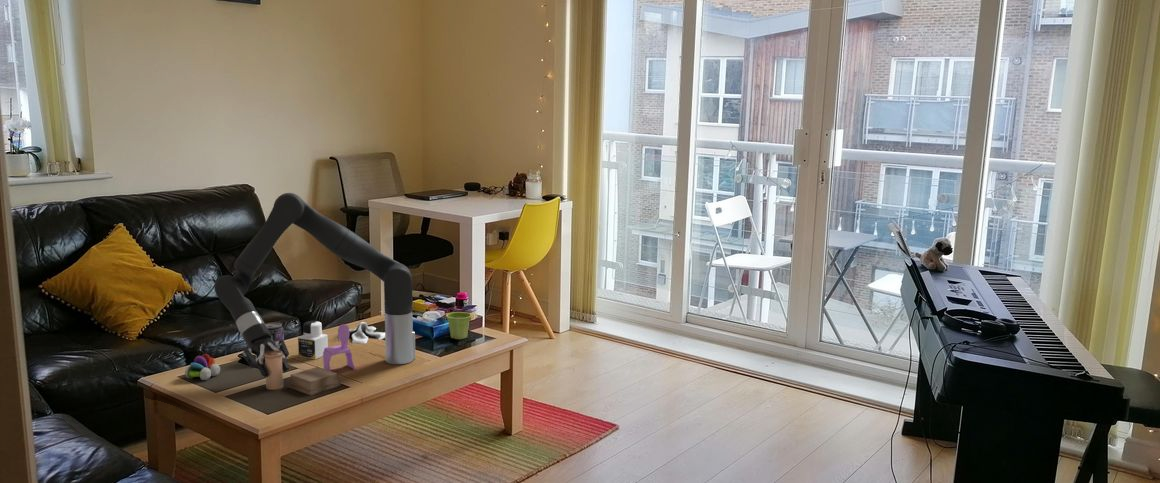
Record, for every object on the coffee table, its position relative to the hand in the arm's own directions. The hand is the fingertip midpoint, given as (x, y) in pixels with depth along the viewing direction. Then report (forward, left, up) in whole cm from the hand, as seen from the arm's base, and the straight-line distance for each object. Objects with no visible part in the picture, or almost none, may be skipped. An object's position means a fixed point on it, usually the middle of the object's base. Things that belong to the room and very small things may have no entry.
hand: (277, 373), depth 265 cm
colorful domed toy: (+9, -27, -5) cm, 29 cm away
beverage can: (-16, -26, -5) cm, 31 cm away
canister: (0, -2, -5) cm, 5 cm away
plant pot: (-75, +4, -5) cm, 75 cm away
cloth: (-52, -25, -6) cm, 58 cm away
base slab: (-8, +7, -5) cm, 12 cm away
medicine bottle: (-27, -19, -5) cm, 33 cm away
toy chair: (-23, 0, -5) cm, 24 cm away
